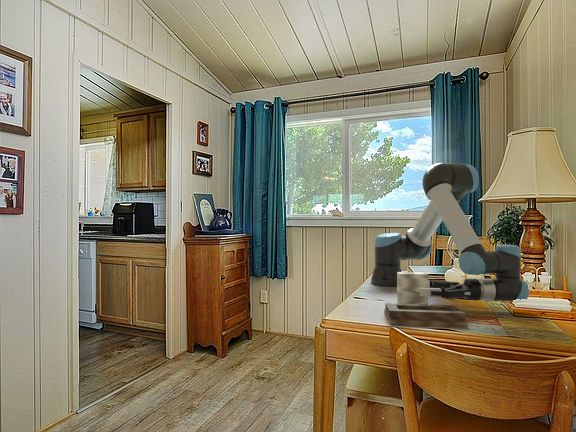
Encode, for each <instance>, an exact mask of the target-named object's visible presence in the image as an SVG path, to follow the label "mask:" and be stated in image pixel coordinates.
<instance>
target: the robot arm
mask: <svg viewBox="0 0 576 432" xmlns="http://www.w3.org/2000/svg"><path fill="white" fill-rule="evenodd" d="M422 177H423V178H422V188H423V193H425V196H426V198H427V200H430V201H429V203H428V204H427V206H426V207H425V209H424V211H423V212H422V214H421V216H420V217H419V219H418V220H417V222H416V224H415V225H414V227H411V228H409V229H408V230H407V232H406V234H405V235H402V234H401V233H400V232H389V233H388V232H387V233H386V232H385V233H381V234H378V235H376V236H375V240H374V268H373V271H372V274H371V278H370V283H371V284H373V285H376V286H382V287H383V286H385V287H386V286H387V287H397V272H403V271H402V269H401V263H402V262H401V261H419V260H424V259H427V258H428V257H429V256H430V254H431V253H432V248H433V243H432V237H433V235H434V234H435V232H436V231H437V230H438V228H439V226H440V224H441V223H442V222H443V223H444V225H445V227H446V229H447V231H448V232H449V233H448V234H450V237H451V239H452V241H453V242H454V244H455V246H456V248H457V250H458V252H459V254H460V255H459V257H458V266H459V270H461V272H462V273H463V274H466V275H473V276H479V275H487V274H488V275H489V274H494V276H495V278H470V277H469V278H465V279H464V281H463V283H460V282H458V281H446V280H439V279H438V280H437V279H428V288H420V296H425V297H428V298H429V297H430V298H431V297H433V298H435V297H436V298H437V297H438V298H444V297H445V298H444V299H446V300H451V299H450V298H456V299H461V298H460V297H463V298H465V299H466V300H467V301H483V302H486V303H488V302H489V301H490V302H491V301H493V302H511V303H514V302H513V300H516V299H520V300H521V299H526V300H528V298H529V296H530V288H529V284H528V283H527V281H526V280H524V279H521V278H522V277H521V266H522V265H521V260H522V257H521V247H520V246H518V245H515V244H497V245H496V246H495V249H494V250H492V251H487V250H486V249H485V247H484V246H483V243H482V242H481V240H480V239H479V237H478V235H477V233H476V232H475V230H474V228H473V226H472V225H471V223H470V222H469V220H468V218H467V216H466V214H465V213H464V211H463V210H462V208H461V206H460V204H459V202H460V201H462V200H463V198H464V197H465V195H466V194H471V193H473V192H475V191H476V189H477V188H478V187H479V183H480V182H479V181H480V178H479V172H478V171H477V169H476V167H474V166H473V165H472V164H467V163H448V162H446V163H445V162H437V163H434V164H431V166H429V167H428V168H427V169H426V170H425V172H424V174H423V176H422ZM440 296H441V297H440Z"/></svg>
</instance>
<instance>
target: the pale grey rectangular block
mask: <svg viewBox="0 0 576 432" xmlns="http://www.w3.org/2000/svg"><path fill="white" fill-rule="evenodd" d="M428 281H429V273H427V272H415V271H414V272H410V271H409V272H408V271H407V272H406V271H402V272H397V286H396V304H425V305H429V297H425V296H420V288H428Z"/></svg>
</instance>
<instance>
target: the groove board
mask: <svg viewBox="0 0 576 432" xmlns="http://www.w3.org/2000/svg"><path fill="white" fill-rule="evenodd" d="M383 311H384V312H383V313H384V314H385V316H386V319H387V320H388V323H389V325H390V326H406V327H426V328H427V327H428V328H429V327H430V328H451V327H461V328H460V329H469V327H468V326H469V324H468V323H467V322H466V313H465V312H464V311H458V306H456V305H454V304H453V305H452V304H451V305H448V304H428V305H425V304H397V303H394V302H393V303H391V302H389V303H387V302H386V303H385V308H384V309H383Z"/></svg>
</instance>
